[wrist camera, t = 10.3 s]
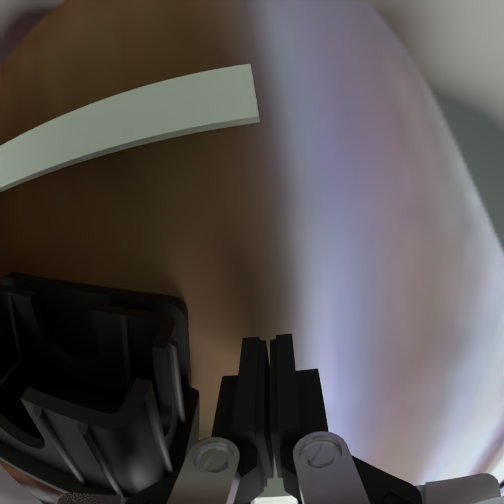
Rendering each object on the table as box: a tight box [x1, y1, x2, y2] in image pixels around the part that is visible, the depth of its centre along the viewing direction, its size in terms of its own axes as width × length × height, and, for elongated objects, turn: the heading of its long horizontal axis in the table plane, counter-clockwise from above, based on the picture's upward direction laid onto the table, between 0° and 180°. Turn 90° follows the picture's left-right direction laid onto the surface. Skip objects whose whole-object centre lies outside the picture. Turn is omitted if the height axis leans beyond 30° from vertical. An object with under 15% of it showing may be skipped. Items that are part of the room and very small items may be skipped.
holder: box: [0, 64, 297, 504], centre depth 11 cm, size 15×18×3 cm
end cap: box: [0, 273, 199, 498], centre depth 9 cm, size 10×7×7 cm
